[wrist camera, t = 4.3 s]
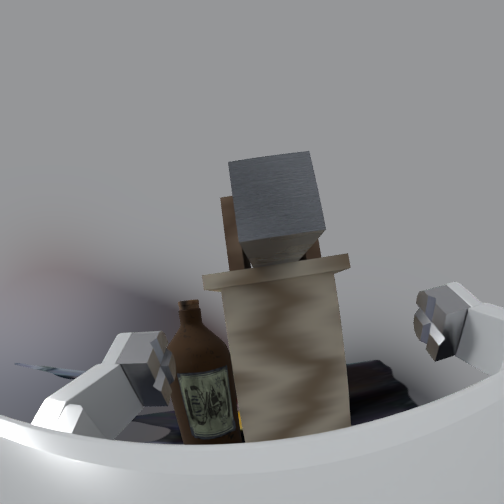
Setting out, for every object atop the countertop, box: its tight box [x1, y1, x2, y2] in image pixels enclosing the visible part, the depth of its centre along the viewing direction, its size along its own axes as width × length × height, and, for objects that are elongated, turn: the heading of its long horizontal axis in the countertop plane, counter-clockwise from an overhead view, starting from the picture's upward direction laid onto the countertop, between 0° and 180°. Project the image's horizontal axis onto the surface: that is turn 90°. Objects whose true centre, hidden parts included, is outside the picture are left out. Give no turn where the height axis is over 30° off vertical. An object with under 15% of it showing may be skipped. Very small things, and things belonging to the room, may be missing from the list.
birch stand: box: [202, 196, 351, 443], centre depth 25 cm, size 10×18×31 cm, turn 177°
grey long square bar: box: [228, 151, 326, 268], centre depth 22 cm, size 3×24×3 cm, turn 177°
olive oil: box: [167, 300, 242, 445], centre depth 43 cm, size 11×11×25 cm
